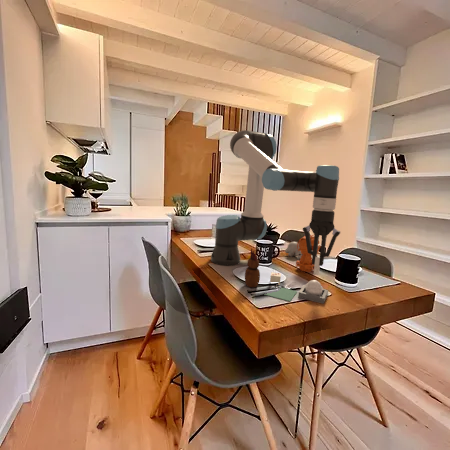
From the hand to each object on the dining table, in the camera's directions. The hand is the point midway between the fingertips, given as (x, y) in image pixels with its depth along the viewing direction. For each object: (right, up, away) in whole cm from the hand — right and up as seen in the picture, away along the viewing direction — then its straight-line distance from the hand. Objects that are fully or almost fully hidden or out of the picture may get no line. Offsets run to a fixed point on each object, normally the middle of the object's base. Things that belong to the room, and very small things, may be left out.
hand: (316, 273), depth 98 cm
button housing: (-1, -9, +2) cm, 9 cm away
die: (-13, -6, +12) cm, 19 cm away
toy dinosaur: (+6, -4, +32) cm, 33 cm away
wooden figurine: (-23, -7, +8) cm, 25 cm away
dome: (-1, -9, +2) cm, 9 cm away
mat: (-13, -8, +3) cm, 15 cm away
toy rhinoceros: (+6, -1, +54) cm, 54 cm away
